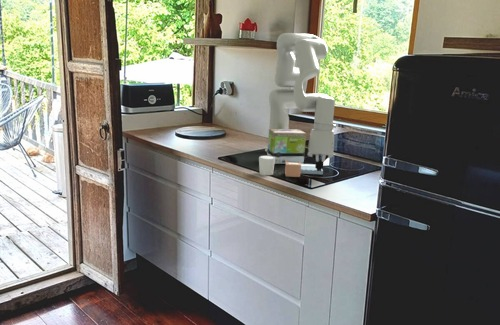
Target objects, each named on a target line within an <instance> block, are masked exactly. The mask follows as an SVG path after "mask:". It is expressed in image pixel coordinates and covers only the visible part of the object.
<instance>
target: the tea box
mask: <svg viewBox="0 0 500 325" xmlns="http://www.w3.org/2000/svg"><path fill="white" fill-rule="evenodd" d="M267 138H268V141H267V148H268V150H267V152H266V154H267V155H266V156H273V157H275V163H274V165H281V164H285V165H286V162H287V161H290V162H300V164H304V162H305V161H304V160H305V152H306V151H305V150H306V140H307V133H306V132H304V131H303V130H301V129H294V128H293V129H290V128H288V129H268V137H267Z"/></svg>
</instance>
